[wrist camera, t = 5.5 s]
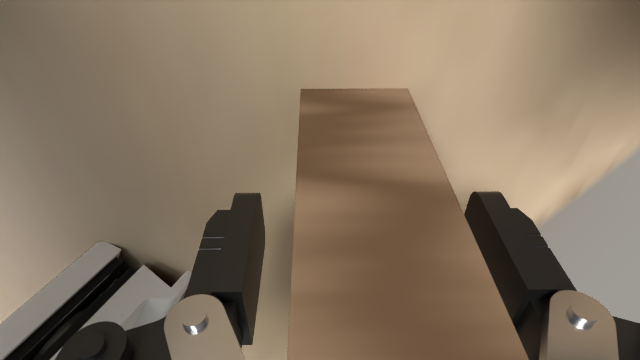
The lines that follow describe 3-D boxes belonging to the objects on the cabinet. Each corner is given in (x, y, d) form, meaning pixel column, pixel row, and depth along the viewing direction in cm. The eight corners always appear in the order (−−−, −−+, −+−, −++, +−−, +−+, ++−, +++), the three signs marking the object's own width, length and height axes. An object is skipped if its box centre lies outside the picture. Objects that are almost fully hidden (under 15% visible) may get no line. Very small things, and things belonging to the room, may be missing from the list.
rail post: (303, 174, 17) (292, 547, 8) (300, 89, 15) (281, 483, 5) (394, 173, 17) (497, 542, 8) (407, 88, 15) (581, 476, 5)
